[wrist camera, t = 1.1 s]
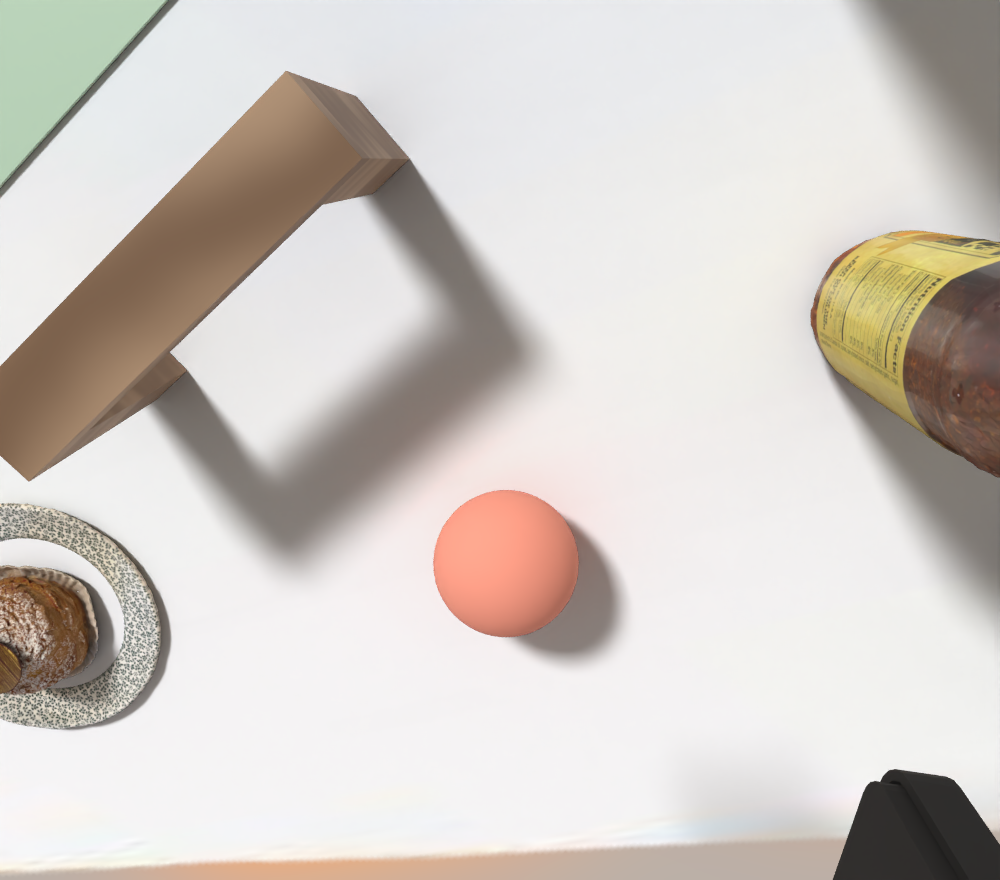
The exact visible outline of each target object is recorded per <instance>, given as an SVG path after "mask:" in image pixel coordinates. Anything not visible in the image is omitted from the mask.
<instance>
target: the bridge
mask: <svg viewBox="0 0 1000 880" xmlns="http://www.w3.org/2000/svg"><path fill="white" fill-rule="evenodd" d="M408 160H409V157H408V156H407V155H406V154H405V153H404V152H403V150H402V149H401V148H400V147H399V146H398V145H397V143H396V142H395V141H394V140H393V139H392V138H391V136H390V135H389V134H388V133H387V132H386V131H385V129H384V128H383V127H382V126H381V125H380V124H379V122H378V121H377V120H376V119H375V118H374V117H373V115H372V114H371V113H370V112H369V111H368V110H367V108H366V107H365V106H364V105H363V104H362V103H361V101H360V100H359V99H358V98H357V97H356V96H354V95H351V94H348V93H346V92H343V91H340V90H337V89H335V88H332V87H329V86H326V85H324V84H321V83H318V82H315V81H313V80H310V79H307V78H304V77H302V76H299V75H296V74H293V73H291V72H288V71H285V72H284V74H283V75H282V76H281V77H280V78H279V79H278V80H277V81H276V82H275V83H274V84H273V85H272V86H271V87H270V88H269V89H268V90H267V91H266V92H265V93H264V94H263V95H262V96H261V97H260V98H259V99H258V100H257V101H256V102H255V103H254V105H253V106H252V107H251V108H250V109H249V110H248V111H247V112H246V113H245V114H244V115H243V116H242V117H241V118H240V119H239V120H238V121H237V122H236V123H235V124H234V125H233V126H232V127H231V128H230V129H229V130H228V131H227V132H226V133H225V134H224V136H223V137H222V138H221V139H220V140H219V141H218V142H217V143H216V144H215V145H214V146H213V147H212V148H211V149H210V150H209V151H208V152H207V153H206V154H205V155H204V156H203V157H202V158H201V159H200V160H199V161H198V162H197V163H196V164H195V165H194V167H193V168H192V169H191V170H190V171H189V172H188V173H187V174H186V175H185V176H184V177H183V178H182V179H181V180H180V181H179V182H178V183H177V184H176V185H175V186H174V187H173V188H172V189H171V190H170V191H169V192H168V193H167V194H166V195H165V197H164V198H163V199H162V200H161V201H160V202H159V203H158V204H157V205H156V206H155V207H154V208H153V209H152V210H151V211H150V212H149V213H148V214H147V215H146V216H145V217H144V218H143V219H142V220H141V221H140V222H139V223H138V224H137V225H136V226H135V228H134V229H133V230H132V231H131V232H130V233H129V234H128V235H127V236H126V237H125V238H124V239H123V240H122V241H121V242H120V243H119V244H118V245H117V246H116V247H115V248H114V249H113V250H112V251H111V252H110V253H109V254H108V255H107V256H106V257H105V259H104V260H103V261H102V262H101V263H100V264H99V265H98V266H97V267H96V268H95V269H94V270H93V271H92V272H91V273H90V274H89V275H88V276H87V277H86V278H85V279H84V280H83V281H82V282H81V283H80V284H79V285H78V286H77V287H76V288H75V290H74V291H73V292H72V293H71V294H70V295H69V296H68V297H67V298H66V299H65V300H64V301H63V302H62V303H61V304H60V305H59V306H58V307H57V308H56V309H55V310H54V311H53V312H52V313H51V314H50V315H49V316H48V317H47V318H46V319H45V321H44V322H43V323H42V324H41V325H40V326H39V327H38V328H37V329H36V330H35V331H34V332H33V333H32V334H31V335H30V336H29V337H28V338H27V339H26V340H25V341H24V342H23V343H22V344H21V345H20V346H19V347H18V348H17V349H16V351H15V352H14V353H13V354H12V355H11V356H10V357H9V358H8V359H7V360H6V361H5V362H4V363H3V364H2V365H1V366H0V456H1V457H2V458H3V459H5V460H6V461H7V462H8V463H9V464H10V465H11V466H12V467H13V468H14V469H16V470H17V471H18V472H19V473H20V474H21V475H22V476H23V477H24V478H25V479H26V480H28V481H31V480H32V479H34V478H35V477H37V476H38V475H40V474H42V473H43V472H45V471H46V470H48V469H49V468H51V467H52V466H54V465H56V464H57V463H59V462H60V461H62V460H63V459H65V458H66V457H68V456H70V455H71V454H73V453H74V452H76V451H77V450H79V449H80V448H82V447H84V446H85V445H87V444H88V443H90V442H91V441H93V440H95V439H96V438H98V437H99V436H101V435H102V434H104V433H105V432H107V431H109V430H110V429H112V428H113V427H115V426H116V425H118V424H119V423H121V422H123V421H124V420H126V419H127V418H129V417H130V416H132V415H134V414H135V413H137V412H138V411H140V410H141V409H143V408H144V407H146V406H148V405H149V404H151V403H152V402H154V401H155V400H157V399H158V398H159V397H160V396H161V395H162V394H163V393H164V392H165V391H166V390H167V389H168V388H169V387H170V386H171V385H172V384H173V383H175V382H176V381H177V380H178V379H179V378H180V377H181V376H182V375H183V374H184V373H185V372H186V371H187V370H186V369H185V368H184V367H183V366H182V365H181V364H180V363H179V362H178V361H177V360H176V359H175V358H174V357H173V356H172V355H171V354H170V353H169V352H170V351H171V350H172V349H173V348H174V347H175V346H177V345H178V344H179V343H180V342H181V341H182V340H183V339H184V338H185V337H186V336H187V335H188V334H189V333H190V332H191V331H192V330H193V329H194V328H195V327H196V326H197V325H198V324H199V323H200V322H201V321H202V320H203V319H204V318H205V317H207V316H208V315H209V314H210V313H211V312H212V311H213V310H214V309H215V308H216V307H217V306H218V305H219V304H220V303H221V302H222V301H223V300H224V299H225V298H226V297H227V296H228V295H229V294H230V293H231V292H232V291H233V290H234V289H236V288H237V287H238V286H239V285H240V284H241V283H242V282H243V281H244V280H245V279H246V278H247V277H248V276H249V275H250V274H251V273H252V272H253V271H254V270H255V269H256V268H257V267H258V266H259V265H260V264H261V263H262V262H263V261H264V260H266V259H267V258H268V257H269V256H270V255H271V254H272V253H273V252H274V251H275V250H276V249H277V248H278V247H279V246H280V245H281V244H282V243H283V242H284V241H285V240H286V239H287V238H288V237H289V236H290V235H291V234H292V233H293V232H294V231H296V230H297V229H298V228H299V227H300V226H301V225H302V224H303V223H304V222H305V221H306V220H307V219H308V218H309V217H310V216H311V215H312V214H313V213H314V212H315V211H316V210H317V209H318V208H319V207H320V206H321V205H323V204H328V203H333V202H337V201H342V200H347V199H351V198H356V197H361V196H365V195H370V194H373V193H374V192H375V191H376V190H377V189H378V188H379V187H380V186H382V185H383V184H384V183H385V182H386V181H387V180H388V179H389V178H390V177H391V176H392V175H393V174H394V173H395V172H396V171H397V170H398V169H399V168H400V167H402V166H403V165H404V164H405V163H406V162H407V161H408Z"/></svg>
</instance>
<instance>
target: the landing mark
mask: <svg viewBox="0 0 1000 880" xmlns="http://www.w3.org/2000/svg"><path fill="white" fill-rule="evenodd" d="M168 1H169V0H0V188H1V187H2V185H3V184H4V183H5V182H6V181H7V180H8V179H9V178H10V177H11V175H12V174H13V173H14V172H15V171H16V170H17V169H18V168H19V167H20V165H21V164H22V163H23V162H24V161H25V160H26V159H27V158H28V157H29V155H30V154H31V153H32V152H33V151H34V150H35V149H36V148H37V146H38V145H39V144H40V143H41V142H42V141H43V140H44V139H45V138H46V136H47V135H48V134H49V133H50V132H51V131H52V130H53V129H54V128H55V126H56V125H57V124H58V123H59V122H60V121H61V120H62V119H63V118H64V116H65V115H66V114H67V113H68V112H69V111H70V110H71V109H72V108H73V106H74V105H75V104H76V103H77V102H78V101H79V100H80V99H81V97H82V96H83V95H84V94H85V93H86V92H87V91H88V90H89V89H90V87H91V86H92V85H93V84H94V83H95V82H96V81H97V80H98V79H99V77H100V76H101V75H102V74H103V73H104V72H105V71H106V70H107V69H108V67H109V66H110V65H111V64H112V63H113V62H114V61H115V60H116V59H117V57H118V56H119V55H120V54H121V53H122V52H123V51H124V50H125V48H126V47H127V46H128V45H129V44H130V43H131V42H132V41H133V40H134V38H135V37H136V36H137V35H138V34H139V33H140V32H141V31H142V30H143V28H144V27H145V26H146V25H147V24H148V23H149V22H150V21H151V20H152V18H153V17H154V16H155V15H156V14H157V13H158V12H159V11H160V9H161V8H162V7H163V6H164V5H165V4H166V3H167V2H168Z"/></svg>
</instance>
